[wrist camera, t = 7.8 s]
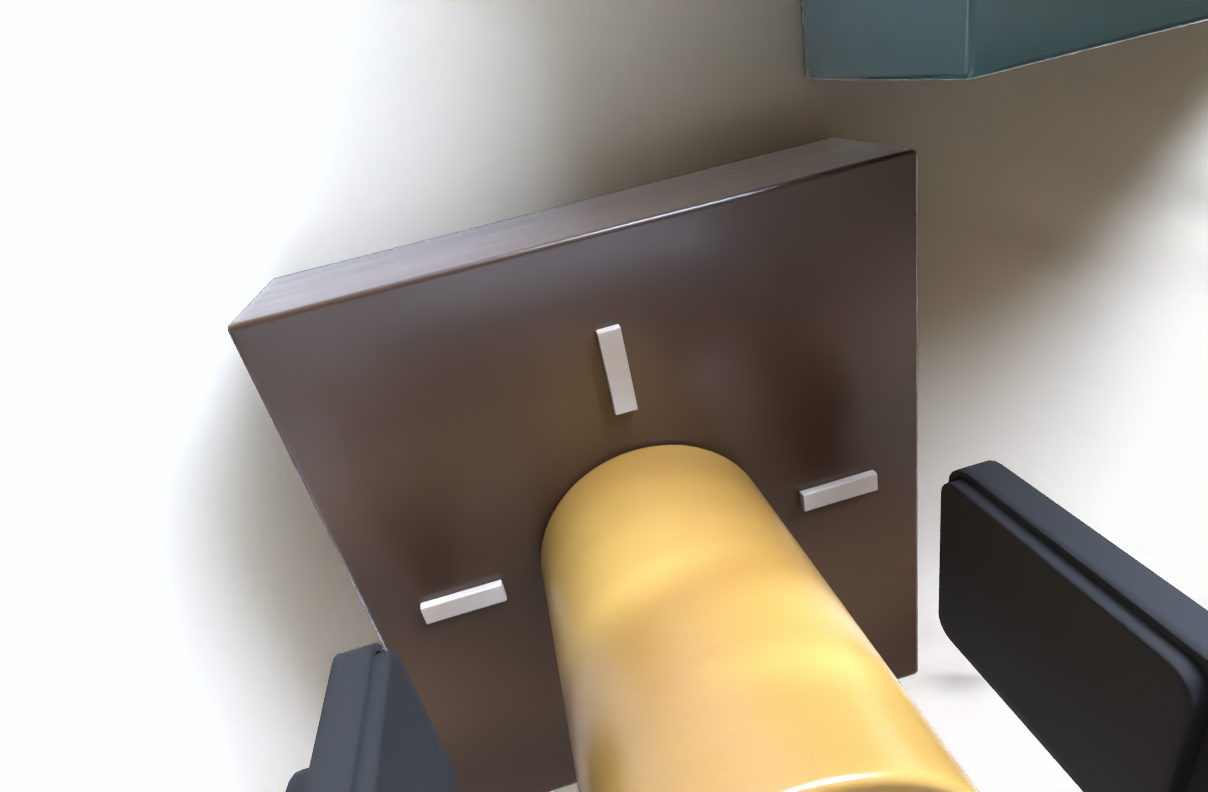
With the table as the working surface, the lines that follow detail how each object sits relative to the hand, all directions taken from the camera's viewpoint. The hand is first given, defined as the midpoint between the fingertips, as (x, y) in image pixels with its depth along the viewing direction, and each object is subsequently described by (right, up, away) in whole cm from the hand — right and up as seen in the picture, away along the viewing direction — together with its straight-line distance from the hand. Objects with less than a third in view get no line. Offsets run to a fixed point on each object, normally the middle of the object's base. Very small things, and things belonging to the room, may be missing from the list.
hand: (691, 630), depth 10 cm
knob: (0, +1, +2) cm, 2 cm away
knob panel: (-1, +2, +4) cm, 5 cm away
